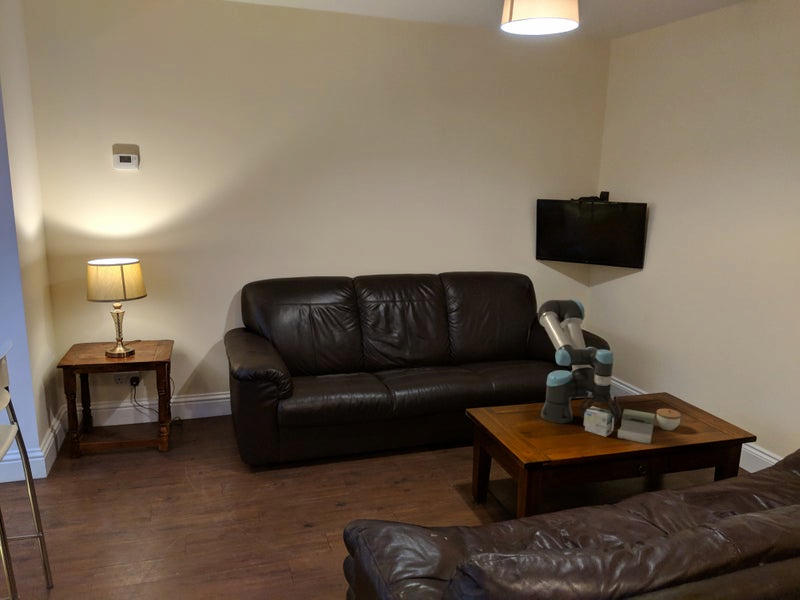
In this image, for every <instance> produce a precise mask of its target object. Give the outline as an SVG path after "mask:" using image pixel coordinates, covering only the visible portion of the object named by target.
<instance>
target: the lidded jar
mask: <svg viewBox="0 0 800 600" xmlns="http://www.w3.org/2000/svg"><path fill="white" fill-rule="evenodd" d="M681 417H682V414H681V413H680V412H679V411H677V410H674V409H671V408H659V409H657V410H656V421H657V424H658V426H659V427H660V429H662V430H664V431H674V430H675V429H676V428H677V427H679V425H680V423H681Z"/></svg>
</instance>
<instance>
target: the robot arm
mask: <svg viewBox="0 0 800 600" xmlns="http://www.w3.org/2000/svg"><path fill="white" fill-rule="evenodd" d="M537 318H538V319H537V320H538V322H539V324H540V325H541V326H542V327H544V330H545V331H546V333H547V334H548V337H549V339H550V341H551V343H552V344H553V346H554V349H555V350H556V351H555V354H554V355H555V362H556V364H557V365H559V366H565V367H566V366H571V367H572V370H571V371H569V370H563V369H562V370H560V369H559V370H553V371H552V372H550V373H549V374H547V379H546V389H545V390H546V393H545V402H544V405H543V407H542V409H541V414H540V417H541V418H542V419H543V420H545V421H546V422H549V423H553V424H569V423H570V422H572V421H573V418H574V417H573V416H574V415H573V411H572V407H571V399H581V398H582V399H583V400H582V401H581V403H580V405H579V407H578V410H579V411H581V412H582V413H581V418H582V419H583V426H584V427H585V422H586V410H587V409H588V408H590V407H592V406H593V404H595V402H596V403H597V404H598V403H600V404H605V405H606V406H607V408H608V409H609V411H611V413H612V414H613V417H612V427H611V431H612V432H614V428H615V426H614V425H616V424H617V422H618V418H621V417H622V415H623V412H622V411H621V408H620V405H619V403H618V395H616V394H615V395H611V387H612V385H611V384H612V377H613V376H612V374H613V365H614V352H613V351H611V350H608V349H598V348H596V347H593V346H588V347H586V343H585V339H584V335H583V331H582V330H583V329H582V327H581V325H582V324H583V321H584V319H585V308H584V305H583V304H582V302H581V301H580V300H577V299H550V300H546V301H545V302H544V303H542V304H541V306H540V307H539V309H538V312H537ZM592 366H593V367H592ZM588 398H589V399H590V398H592V399H591V400H590V401H589V402H588V403H587V404H586V405H585V403H586V402H587V400H588ZM610 399H611V400H612V401H613V404H614V407H615V408H614V407H613V405H612V404H611V402H610Z"/></svg>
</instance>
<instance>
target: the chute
mask: <svg viewBox="0 0 800 600" xmlns="http://www.w3.org/2000/svg"><path fill="white" fill-rule="evenodd" d="M620 424H621V425H620V428H618V429H617V438H618V439H622V440H627V441H633V442H639V443H644V444H648V445H649V444H651V443H652V442H651V441H652V436H653V431H654V427H653V424H649V423H644V422H638V421H632V420H627V419H622V418H621V423H620Z"/></svg>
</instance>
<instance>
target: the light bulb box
mask: <svg viewBox="0 0 800 600" xmlns="http://www.w3.org/2000/svg"><path fill="white" fill-rule="evenodd" d="M612 417H613V414H612V413H611V411H610V410H607V409H605V408H600V407H596V406H594V405H591V406H590V407H589V408H588V409H587V410H586V422H585V426H584V431H585V432H589V433H592V434H596V435H598V436H602V437H605V438H606V437H607V436H609V435H611V434H612V433H613V431H611V427H612Z"/></svg>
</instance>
